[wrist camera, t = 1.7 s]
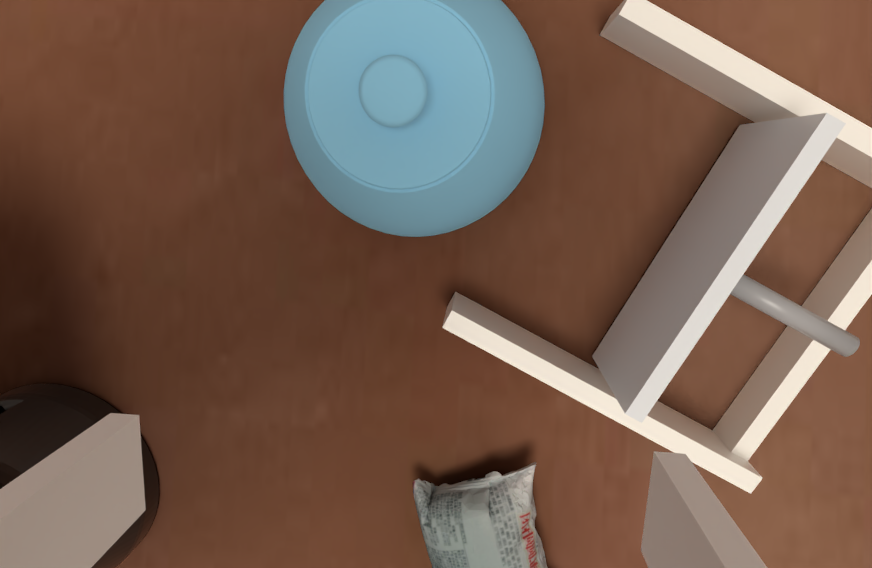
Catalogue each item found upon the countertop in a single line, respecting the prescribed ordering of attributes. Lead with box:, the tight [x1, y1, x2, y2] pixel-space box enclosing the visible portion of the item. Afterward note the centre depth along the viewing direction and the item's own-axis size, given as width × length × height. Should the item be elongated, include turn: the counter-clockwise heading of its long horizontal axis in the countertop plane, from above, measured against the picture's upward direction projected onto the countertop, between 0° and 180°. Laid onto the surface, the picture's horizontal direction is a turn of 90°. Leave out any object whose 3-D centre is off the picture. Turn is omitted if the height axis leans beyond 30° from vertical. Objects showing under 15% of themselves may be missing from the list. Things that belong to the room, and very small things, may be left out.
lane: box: [442, 0, 872, 493], centre depth 35 cm, size 21×20×5 cm
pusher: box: [592, 113, 860, 423], centre depth 33 cm, size 9×17×9 cm, turn 152°
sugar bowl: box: [284, 0, 545, 237], centre depth 31 cm, size 15×15×12 cm
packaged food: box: [413, 462, 547, 568], centre depth 40 cm, size 9×12×5 cm
